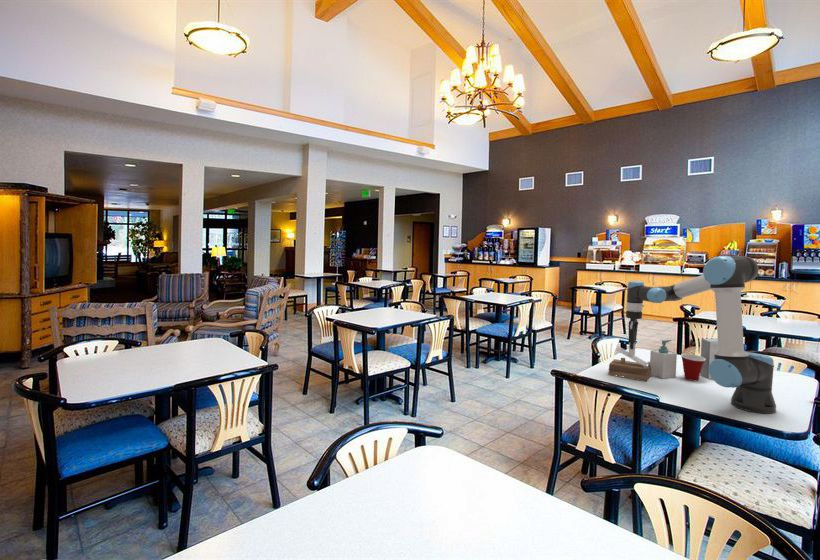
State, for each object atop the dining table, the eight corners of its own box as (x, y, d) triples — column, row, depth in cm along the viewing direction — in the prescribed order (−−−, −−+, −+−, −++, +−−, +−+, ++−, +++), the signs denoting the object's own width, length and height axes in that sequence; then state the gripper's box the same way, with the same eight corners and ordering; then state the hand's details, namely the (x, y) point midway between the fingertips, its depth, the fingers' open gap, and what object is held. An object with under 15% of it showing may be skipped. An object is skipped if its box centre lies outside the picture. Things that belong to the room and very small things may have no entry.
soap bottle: (676, 377, 227) (677, 341, 226) (662, 378, 225) (664, 342, 223) (662, 372, 235) (664, 337, 234) (649, 373, 233) (650, 338, 231)
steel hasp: (646, 368, 223) (648, 366, 222) (615, 350, 231) (616, 348, 231) (648, 365, 227) (649, 363, 227) (618, 348, 236) (619, 346, 235)
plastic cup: (700, 383, 216) (701, 360, 215) (676, 378, 225) (677, 355, 224) (707, 379, 223) (709, 356, 222) (684, 374, 231) (685, 352, 230)
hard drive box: (730, 375, 230) (732, 338, 228) (739, 380, 222) (742, 341, 221) (699, 374, 231) (701, 337, 230) (707, 379, 224) (709, 341, 222)
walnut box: (647, 381, 220) (647, 364, 219) (608, 374, 231) (609, 358, 230) (651, 375, 230) (651, 359, 229) (613, 369, 241) (614, 354, 240)
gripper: (639, 312, 220) (637, 358, 222) (644, 309, 230) (641, 353, 232) (623, 311, 224) (621, 356, 226) (628, 308, 234) (626, 351, 237)
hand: (631, 354), depth 229 cm, fingers closed
